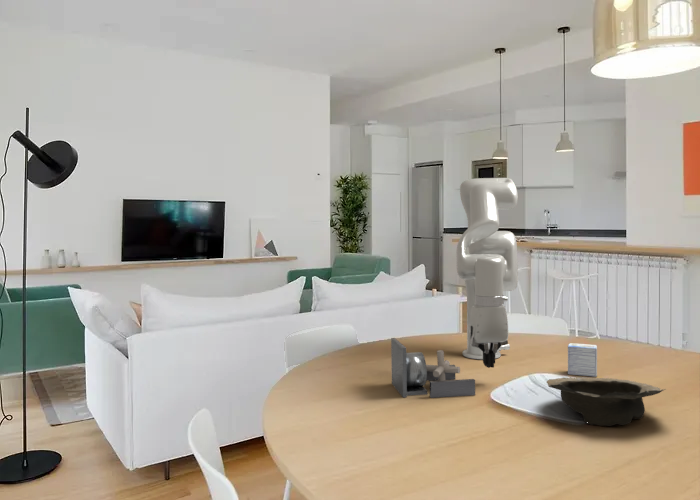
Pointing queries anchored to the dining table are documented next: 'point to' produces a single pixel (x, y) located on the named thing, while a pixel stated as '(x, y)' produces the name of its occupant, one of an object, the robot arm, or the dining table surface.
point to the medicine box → (582, 359)
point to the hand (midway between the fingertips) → (489, 366)
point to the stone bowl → (604, 398)
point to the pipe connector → (442, 367)
